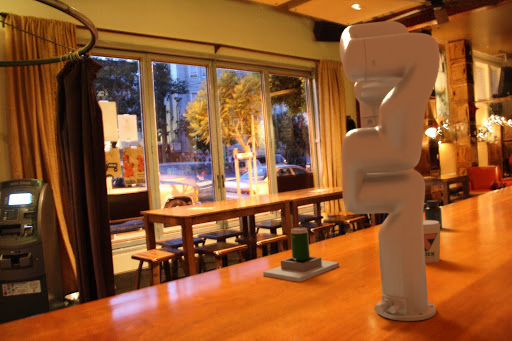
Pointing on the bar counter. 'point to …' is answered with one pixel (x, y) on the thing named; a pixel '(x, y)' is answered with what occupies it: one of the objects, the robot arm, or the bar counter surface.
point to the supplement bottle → (433, 212)
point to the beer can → (300, 245)
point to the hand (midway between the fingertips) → (378, 183)
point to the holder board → (300, 269)
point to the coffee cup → (431, 240)
